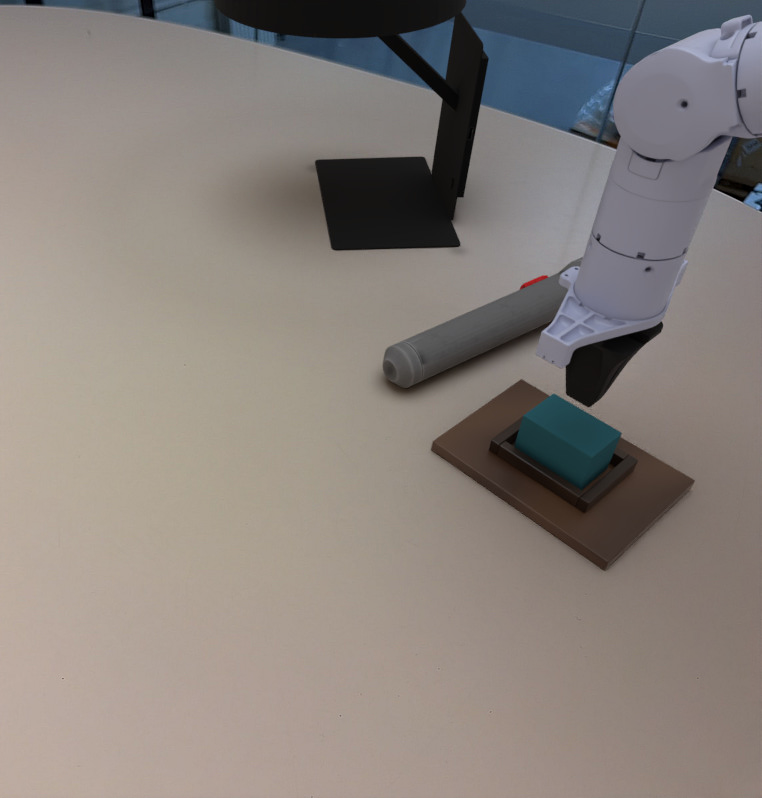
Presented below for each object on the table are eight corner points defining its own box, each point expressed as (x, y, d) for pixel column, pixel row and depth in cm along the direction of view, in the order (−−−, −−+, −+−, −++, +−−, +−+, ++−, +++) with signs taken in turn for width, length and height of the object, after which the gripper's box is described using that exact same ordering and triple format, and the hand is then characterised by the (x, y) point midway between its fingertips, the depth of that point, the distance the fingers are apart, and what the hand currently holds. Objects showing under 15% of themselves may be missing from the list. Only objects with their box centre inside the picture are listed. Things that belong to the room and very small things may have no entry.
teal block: (607, 468, 64) (622, 432, 61) (578, 493, 62) (592, 457, 59) (541, 428, 67) (553, 392, 65) (512, 451, 66) (523, 415, 63)
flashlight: (394, 405, 73) (365, 359, 75) (610, 304, 83) (581, 265, 84) (416, 382, 69) (385, 334, 70) (642, 278, 79) (611, 237, 80)
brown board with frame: (691, 488, 63) (701, 469, 62) (604, 570, 58) (613, 552, 56) (518, 387, 73) (524, 368, 71) (430, 449, 67) (434, 430, 66)
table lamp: (477, 254, 89) (570, -194, 62) (222, 261, 89) (204, -181, 63) (432, 151, 108) (488, -226, 81) (221, 158, 108) (208, -216, 82)
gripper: (642, 178, 57) (590, 333, 66) (515, 252, 50) (476, 412, 59) (744, 216, 53) (672, 375, 62) (620, 302, 46) (560, 466, 55)
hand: (582, 397), depth 60 cm, fingers closed
